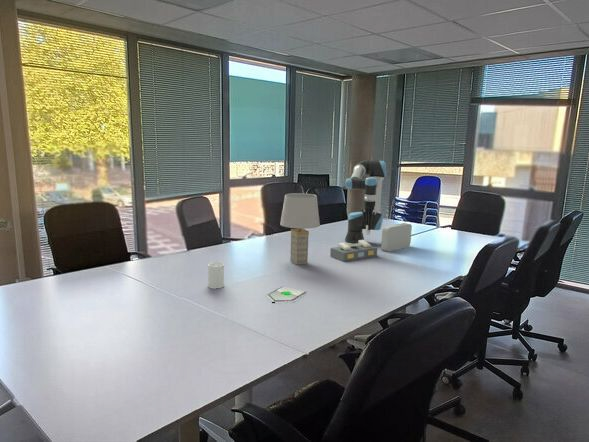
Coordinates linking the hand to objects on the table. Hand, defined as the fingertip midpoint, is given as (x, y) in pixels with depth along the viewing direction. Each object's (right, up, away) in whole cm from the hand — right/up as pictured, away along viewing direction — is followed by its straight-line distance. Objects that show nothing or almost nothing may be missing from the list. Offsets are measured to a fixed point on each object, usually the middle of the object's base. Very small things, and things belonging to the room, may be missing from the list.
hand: (367, 234), depth 285 cm
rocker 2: (-10, -7, -2) cm, 12 cm away
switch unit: (-10, -15, -1) cm, 18 cm away
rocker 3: (-2, -7, +3) cm, 7 cm away
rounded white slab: (+25, -12, +24) cm, 37 cm away
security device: (-56, -29, -79) cm, 102 cm away
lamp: (-48, -18, -19) cm, 54 cm away
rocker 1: (-17, -8, -7) cm, 20 cm away
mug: (-91, -25, -65) cm, 115 cm away
